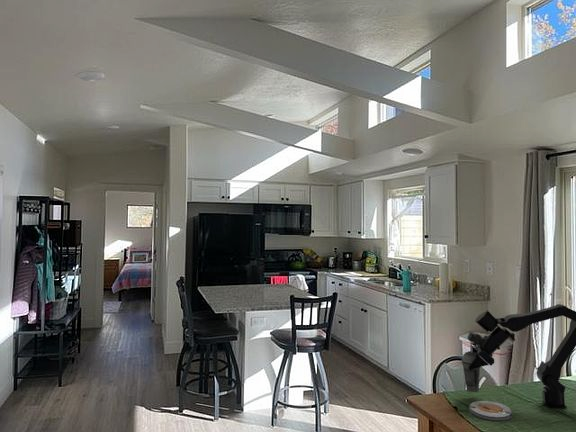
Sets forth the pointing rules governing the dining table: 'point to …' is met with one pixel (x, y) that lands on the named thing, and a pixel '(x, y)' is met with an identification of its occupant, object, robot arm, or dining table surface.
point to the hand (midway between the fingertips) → (467, 366)
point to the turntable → (490, 409)
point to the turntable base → (491, 418)
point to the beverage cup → (470, 371)
